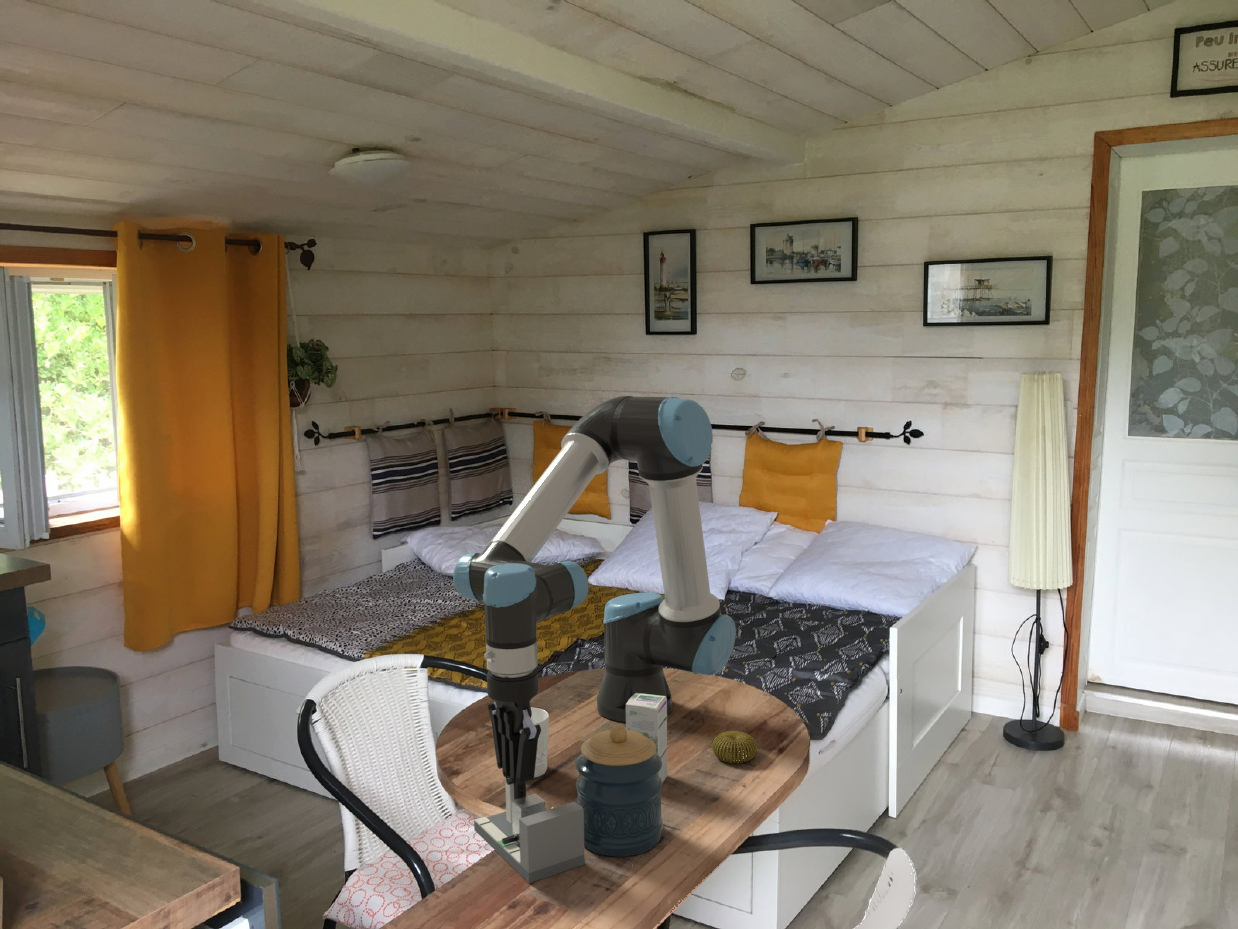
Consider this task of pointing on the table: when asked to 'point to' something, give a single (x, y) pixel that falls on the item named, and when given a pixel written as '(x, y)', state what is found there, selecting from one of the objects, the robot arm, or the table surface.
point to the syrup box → (650, 722)
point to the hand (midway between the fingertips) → (516, 819)
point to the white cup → (541, 740)
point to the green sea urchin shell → (734, 746)
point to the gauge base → (538, 840)
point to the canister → (620, 792)
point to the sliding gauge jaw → (523, 813)
